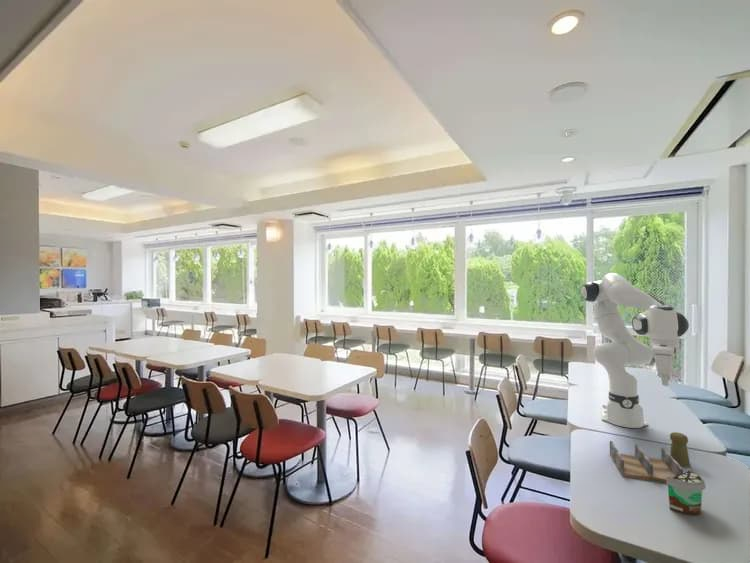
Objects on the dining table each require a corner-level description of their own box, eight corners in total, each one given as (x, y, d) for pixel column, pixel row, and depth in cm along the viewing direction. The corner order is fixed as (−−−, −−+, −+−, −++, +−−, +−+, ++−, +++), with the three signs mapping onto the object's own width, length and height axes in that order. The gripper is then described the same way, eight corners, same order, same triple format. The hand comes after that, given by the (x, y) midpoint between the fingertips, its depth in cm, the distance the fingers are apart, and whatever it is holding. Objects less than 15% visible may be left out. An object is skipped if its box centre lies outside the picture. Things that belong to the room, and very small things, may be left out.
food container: (692, 523, 98) (691, 487, 98) (667, 510, 103) (666, 476, 103) (715, 511, 102) (714, 477, 103) (689, 499, 108) (688, 467, 108)
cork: (694, 467, 126) (693, 437, 127) (675, 466, 128) (674, 436, 128) (683, 459, 132) (682, 430, 133) (665, 458, 134) (664, 429, 134)
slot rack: (609, 455, 137) (609, 440, 137) (664, 462, 130) (663, 447, 130) (621, 476, 122) (621, 459, 122) (683, 486, 115) (683, 468, 115)
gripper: (655, 343, 143) (657, 376, 143) (651, 349, 128) (653, 386, 128) (676, 344, 139) (677, 379, 139) (674, 351, 124) (676, 389, 124)
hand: (666, 382), depth 133 cm, fingers open, 8 cm apart
